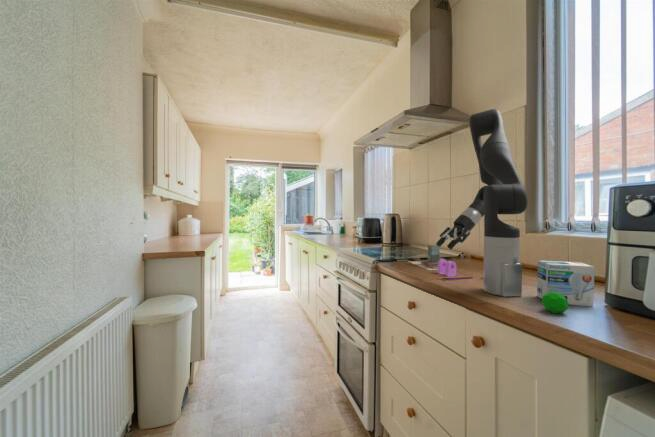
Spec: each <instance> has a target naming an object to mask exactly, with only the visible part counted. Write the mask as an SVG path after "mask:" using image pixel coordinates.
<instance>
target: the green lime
mask: <svg viewBox="0 0 655 437" xmlns="http://www.w3.org/2000/svg"><path fill="white" fill-rule="evenodd" d="M541 303H542V305H543V307H544V308H545V310H546V311H549V312H551V313H552V312H553V314H562V313H565V312H566V311H567V310H568V308H569V304H568V302H567V300H566V298H565V297H564V296H563V295H561V294H560V293H556V292H549V293H546V294H545V295H544V296H543V298H542V299H541Z"/></svg>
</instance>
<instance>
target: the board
mask: <svg viewBox="0 0 655 437" xmlns="http://www.w3.org/2000/svg"><path fill="white" fill-rule="evenodd" d="M407 262H408V263H410V264H413V265H415V266H417V267H420V268H422V269H426V270H428V271H438V269H432V268H429V267H426V266H423V265H421V260H411V261H410V260H407Z"/></svg>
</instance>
